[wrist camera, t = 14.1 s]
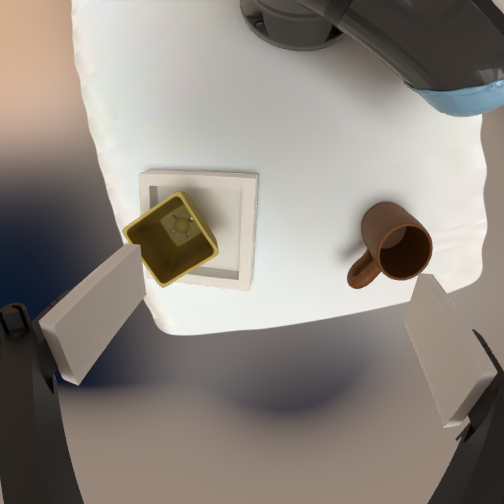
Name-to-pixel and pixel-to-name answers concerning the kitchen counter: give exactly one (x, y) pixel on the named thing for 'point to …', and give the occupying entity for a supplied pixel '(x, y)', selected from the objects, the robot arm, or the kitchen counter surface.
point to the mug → (391, 246)
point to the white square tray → (213, 219)
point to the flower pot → (172, 239)
